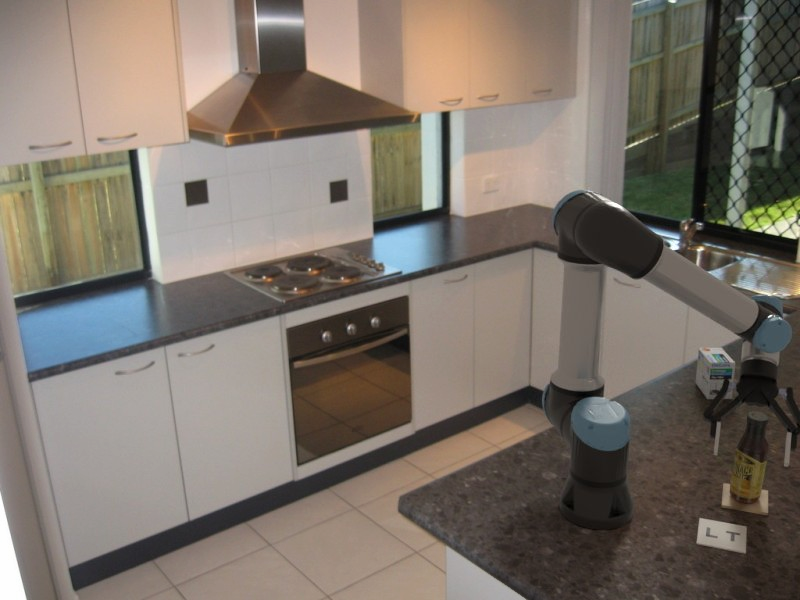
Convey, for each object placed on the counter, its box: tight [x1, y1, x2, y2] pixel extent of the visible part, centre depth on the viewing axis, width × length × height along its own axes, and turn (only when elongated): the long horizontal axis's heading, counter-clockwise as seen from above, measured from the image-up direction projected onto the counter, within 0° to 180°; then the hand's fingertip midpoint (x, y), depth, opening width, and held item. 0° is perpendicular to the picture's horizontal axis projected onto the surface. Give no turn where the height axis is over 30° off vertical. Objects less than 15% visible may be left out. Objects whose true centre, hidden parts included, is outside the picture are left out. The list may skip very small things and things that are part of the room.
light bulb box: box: [695, 347, 737, 400], centre depth 228 cm, size 11×7×11 cm, turn 179°
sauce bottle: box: [729, 410, 770, 503], centre depth 177 cm, size 7×6×20 cm
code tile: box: [696, 517, 748, 555], centre depth 169 cm, size 9×9×1 cm
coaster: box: [721, 482, 769, 516], centre depth 180 cm, size 9×9×1 cm
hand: (750, 459), depth 175 cm, fingers open, 13 cm apart
